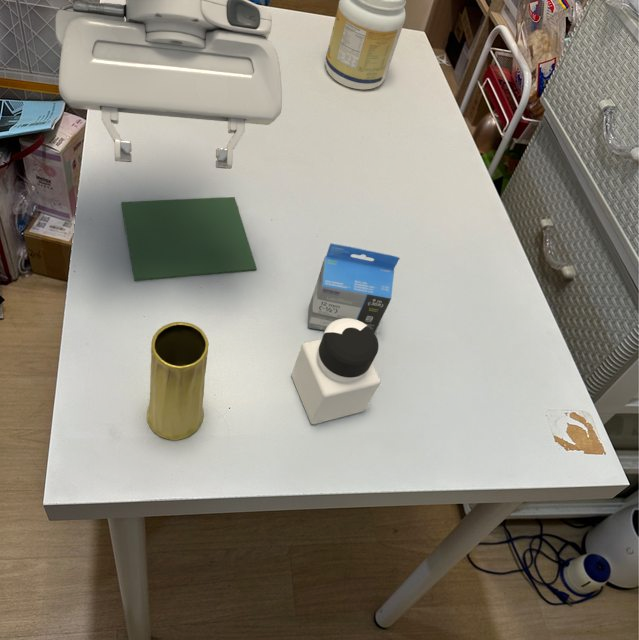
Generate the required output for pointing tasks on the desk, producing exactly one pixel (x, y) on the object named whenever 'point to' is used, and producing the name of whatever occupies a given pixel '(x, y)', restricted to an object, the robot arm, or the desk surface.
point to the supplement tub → (364, 41)
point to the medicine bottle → (337, 371)
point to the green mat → (186, 238)
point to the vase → (177, 380)
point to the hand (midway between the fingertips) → (174, 164)
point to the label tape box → (352, 287)
